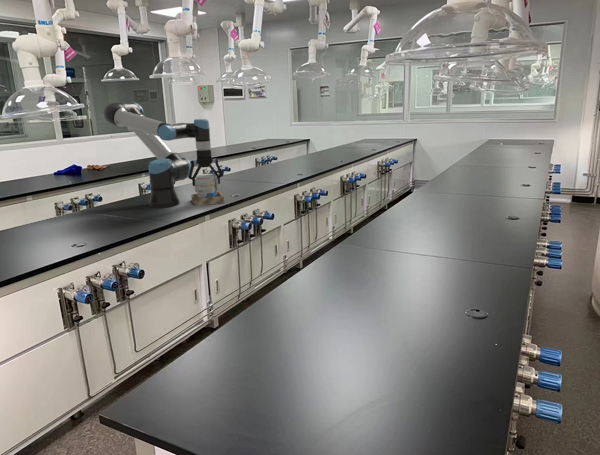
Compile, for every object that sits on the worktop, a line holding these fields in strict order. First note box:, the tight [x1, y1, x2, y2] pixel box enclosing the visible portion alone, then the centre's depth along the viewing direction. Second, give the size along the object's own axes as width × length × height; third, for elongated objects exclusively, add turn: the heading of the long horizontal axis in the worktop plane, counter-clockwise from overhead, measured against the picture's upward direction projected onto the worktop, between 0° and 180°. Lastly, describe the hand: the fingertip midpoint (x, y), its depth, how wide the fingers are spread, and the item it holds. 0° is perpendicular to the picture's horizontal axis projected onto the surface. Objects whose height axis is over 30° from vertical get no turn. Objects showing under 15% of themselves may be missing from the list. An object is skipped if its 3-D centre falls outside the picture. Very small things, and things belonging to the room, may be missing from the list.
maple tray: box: [191, 191, 225, 206], centre depth 241 cm, size 16×14×3 cm
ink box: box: [195, 173, 218, 198], centre depth 239 cm, size 9×8×12 cm
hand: (207, 190), depth 240 cm, fingers closed on ink box, 11 cm apart
